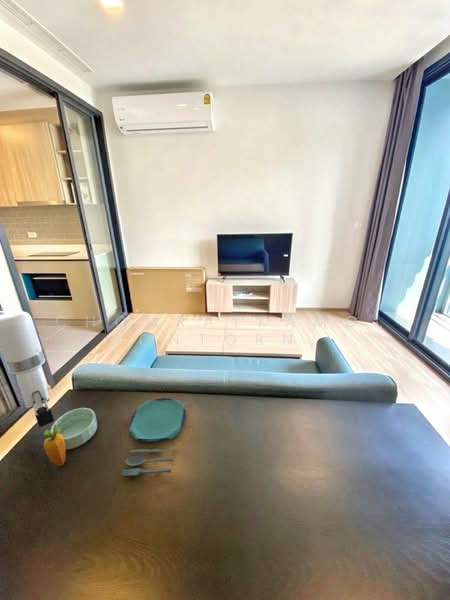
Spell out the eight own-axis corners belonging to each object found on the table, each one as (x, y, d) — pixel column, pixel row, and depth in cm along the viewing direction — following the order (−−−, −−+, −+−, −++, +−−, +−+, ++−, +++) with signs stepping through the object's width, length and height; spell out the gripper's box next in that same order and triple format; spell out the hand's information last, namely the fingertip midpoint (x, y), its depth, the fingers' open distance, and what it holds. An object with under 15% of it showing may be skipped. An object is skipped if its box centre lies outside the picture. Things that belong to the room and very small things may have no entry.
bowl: (57, 458, 78) (53, 447, 76) (51, 431, 88) (48, 420, 86) (102, 435, 86) (99, 424, 84) (92, 412, 95) (89, 402, 94)
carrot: (66, 454, 79) (54, 418, 74) (74, 463, 76) (62, 426, 71) (49, 467, 75) (35, 430, 70) (56, 477, 73) (42, 439, 67)
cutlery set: (189, 401, 101) (188, 396, 100) (177, 476, 73) (177, 470, 72) (139, 402, 100) (139, 397, 99) (109, 478, 72) (107, 472, 71)
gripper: (6, 351, 67) (25, 402, 73) (7, 383, 54) (30, 441, 60) (40, 342, 71) (55, 390, 77) (48, 369, 59) (66, 424, 65)
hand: (44, 412), depth 69 cm, fingers open, 9 cm apart
